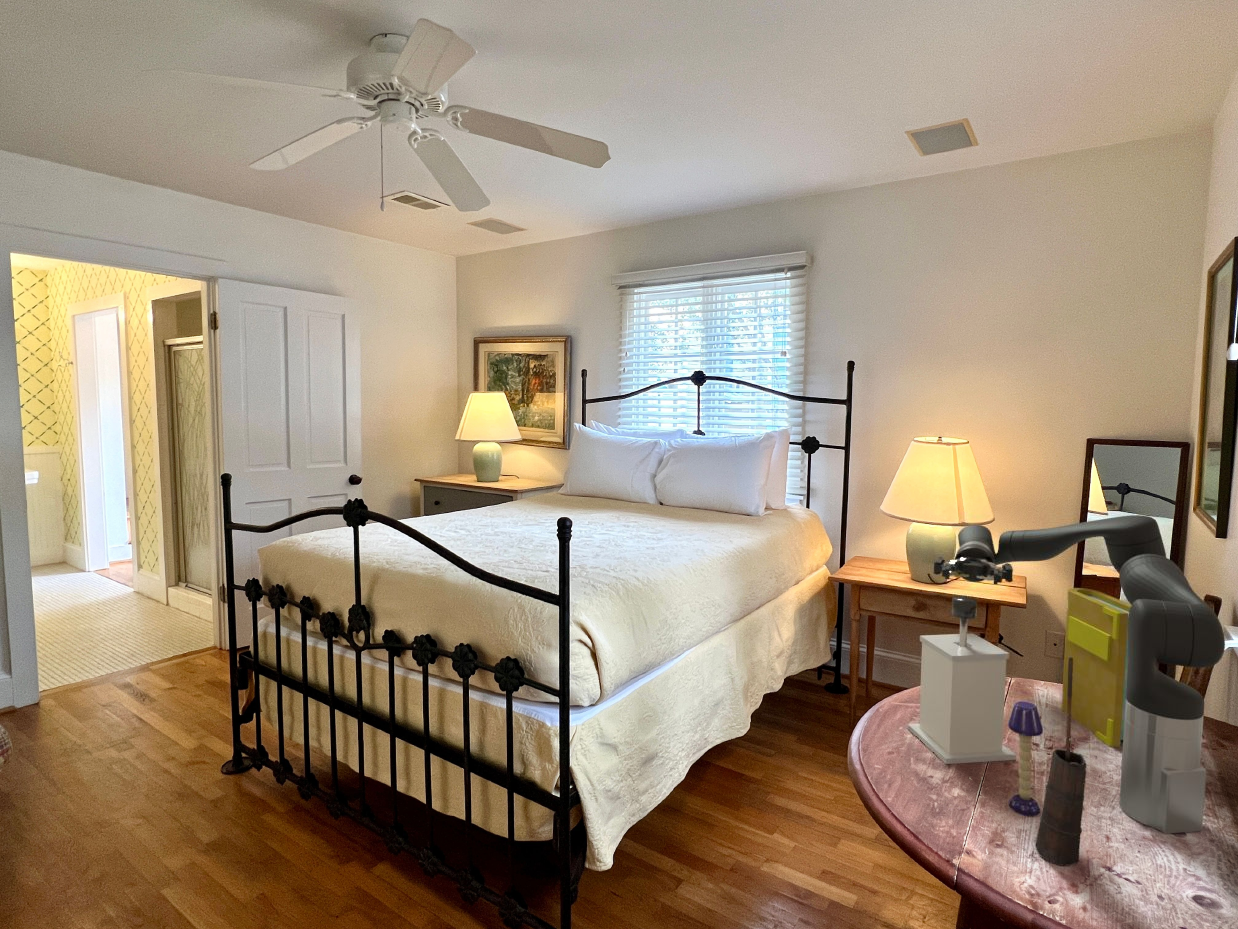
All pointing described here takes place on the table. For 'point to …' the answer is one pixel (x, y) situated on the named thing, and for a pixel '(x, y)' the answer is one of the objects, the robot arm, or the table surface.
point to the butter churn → (1063, 800)
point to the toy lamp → (1025, 755)
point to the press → (962, 699)
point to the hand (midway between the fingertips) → (971, 576)
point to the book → (1097, 662)
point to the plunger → (964, 614)
